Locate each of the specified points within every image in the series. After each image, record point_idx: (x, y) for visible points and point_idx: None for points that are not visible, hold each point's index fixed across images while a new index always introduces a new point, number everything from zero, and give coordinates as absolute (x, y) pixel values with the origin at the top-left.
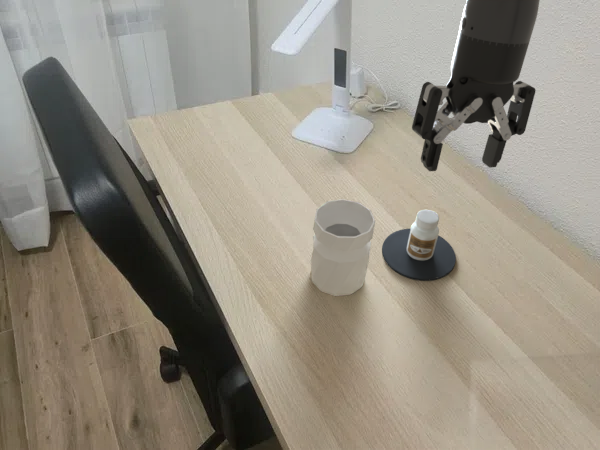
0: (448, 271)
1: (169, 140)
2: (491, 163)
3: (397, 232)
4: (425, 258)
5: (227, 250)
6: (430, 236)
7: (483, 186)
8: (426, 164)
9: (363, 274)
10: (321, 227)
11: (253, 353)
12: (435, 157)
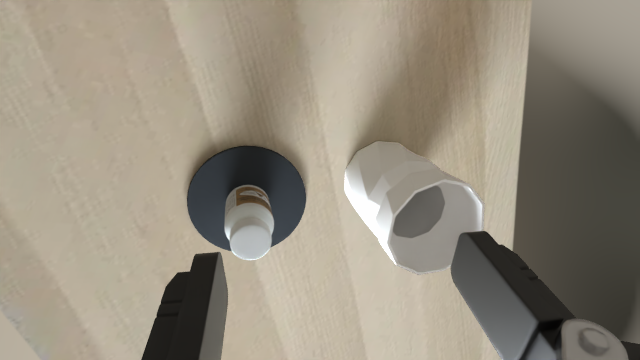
0: (215, 157)
1: None
2: (218, 265)
3: None
4: (246, 186)
5: None
6: (249, 207)
7: (66, 339)
8: (511, 252)
9: (366, 159)
10: (481, 211)
11: (520, 72)
12: (515, 268)
